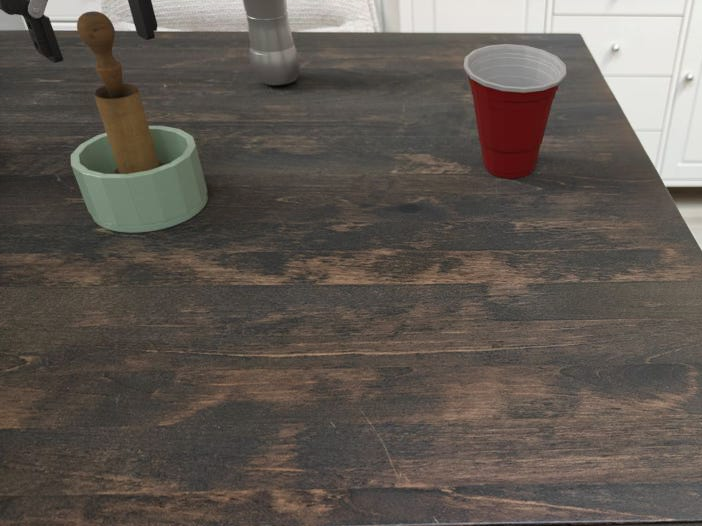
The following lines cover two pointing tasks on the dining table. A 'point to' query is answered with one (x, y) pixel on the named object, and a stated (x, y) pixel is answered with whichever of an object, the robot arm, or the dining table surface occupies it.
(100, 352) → the dining table surface
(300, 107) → the dining table surface
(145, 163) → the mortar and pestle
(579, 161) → the dining table surface
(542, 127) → the plastic cup
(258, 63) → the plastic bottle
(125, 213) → the holder
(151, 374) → the dining table surface
